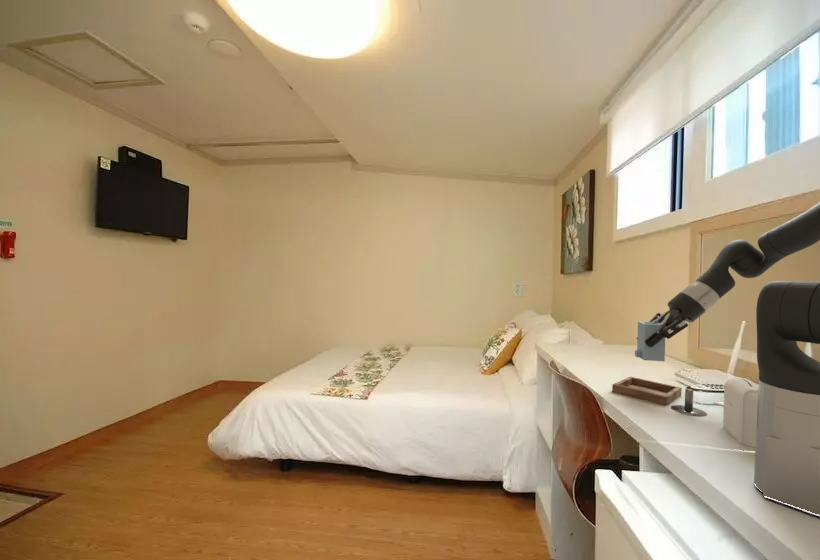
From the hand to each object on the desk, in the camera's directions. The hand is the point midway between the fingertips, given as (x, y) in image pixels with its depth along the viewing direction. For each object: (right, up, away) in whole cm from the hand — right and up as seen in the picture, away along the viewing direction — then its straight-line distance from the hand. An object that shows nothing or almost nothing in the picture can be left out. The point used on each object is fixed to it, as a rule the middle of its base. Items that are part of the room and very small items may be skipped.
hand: (643, 342), depth 102 cm
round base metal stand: (+3, -15, -12) cm, 20 cm away
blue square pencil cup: (+2, -4, 0) cm, 5 cm away
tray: (+1, -15, 0) cm, 15 cm away
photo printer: (+4, -16, -26) cm, 31 cm away
